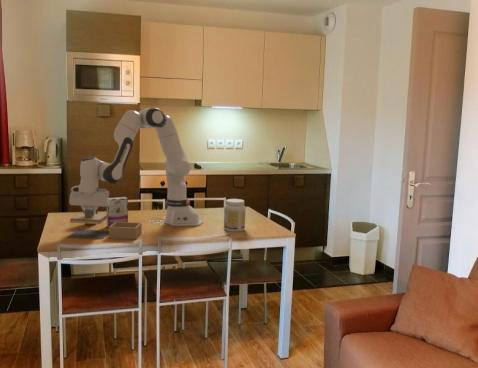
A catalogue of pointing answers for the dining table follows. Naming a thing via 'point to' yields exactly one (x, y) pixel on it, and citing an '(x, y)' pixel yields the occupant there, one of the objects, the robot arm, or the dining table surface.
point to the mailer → (125, 230)
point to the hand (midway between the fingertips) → (89, 214)
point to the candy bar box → (117, 210)
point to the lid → (89, 217)
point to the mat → (89, 234)
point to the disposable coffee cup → (96, 213)
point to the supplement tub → (234, 215)
